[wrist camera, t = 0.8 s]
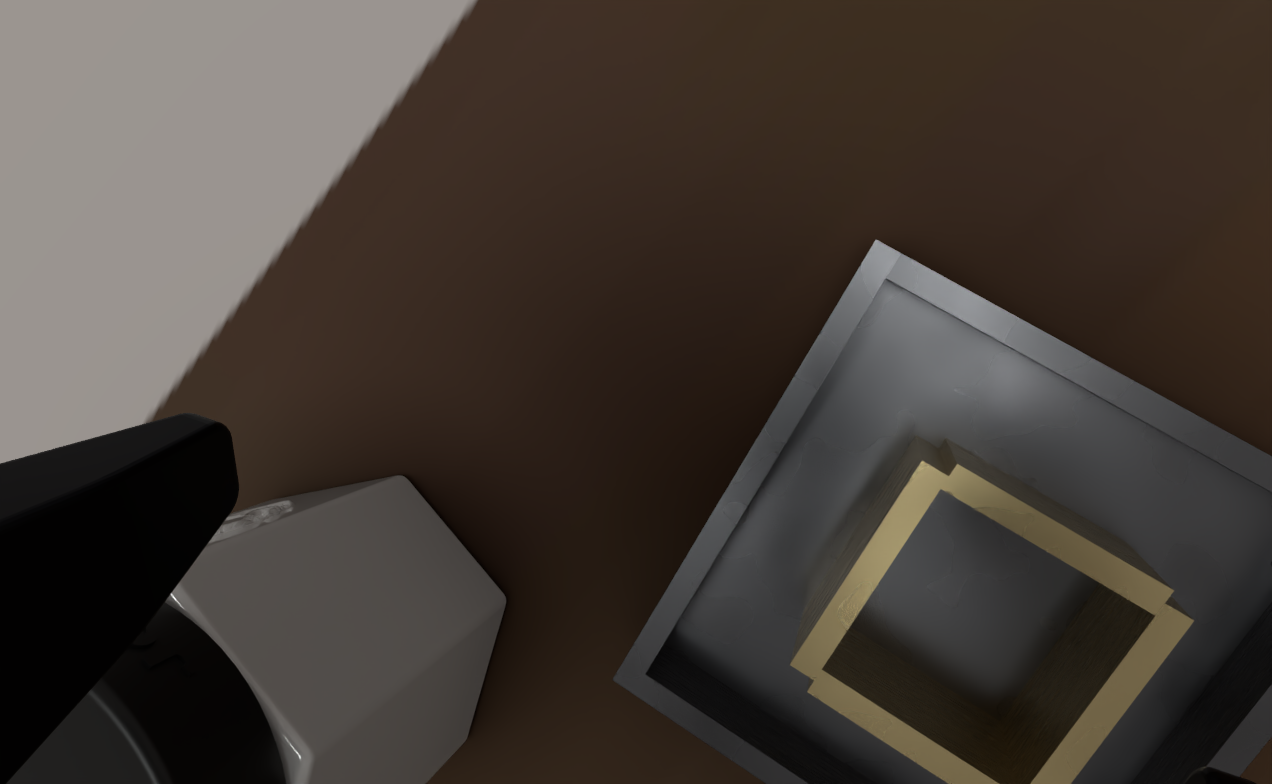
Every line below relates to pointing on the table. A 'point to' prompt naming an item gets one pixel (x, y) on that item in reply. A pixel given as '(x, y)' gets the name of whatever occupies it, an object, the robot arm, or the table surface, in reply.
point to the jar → (296, 654)
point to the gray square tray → (971, 566)
